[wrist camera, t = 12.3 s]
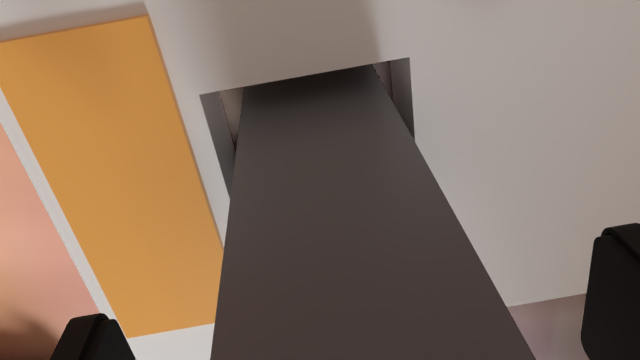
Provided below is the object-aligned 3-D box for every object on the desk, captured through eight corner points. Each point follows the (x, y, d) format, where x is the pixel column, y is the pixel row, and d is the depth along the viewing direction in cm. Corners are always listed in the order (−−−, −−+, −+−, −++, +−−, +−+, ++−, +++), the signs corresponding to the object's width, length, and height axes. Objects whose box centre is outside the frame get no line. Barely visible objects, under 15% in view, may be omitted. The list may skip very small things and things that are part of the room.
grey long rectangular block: (368, 57, 16) (607, 488, 5) (379, 165, 18) (565, 650, 7) (245, 78, 16) (185, 561, 5) (269, 183, 18) (269, 700, 7)
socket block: (1080, -256, 14) (1294, -292, 11) (872, 184, 21) (967, 233, 18) (-20, -56, 14) (-94, -40, 11) (148, 312, 21) (129, 380, 18)
